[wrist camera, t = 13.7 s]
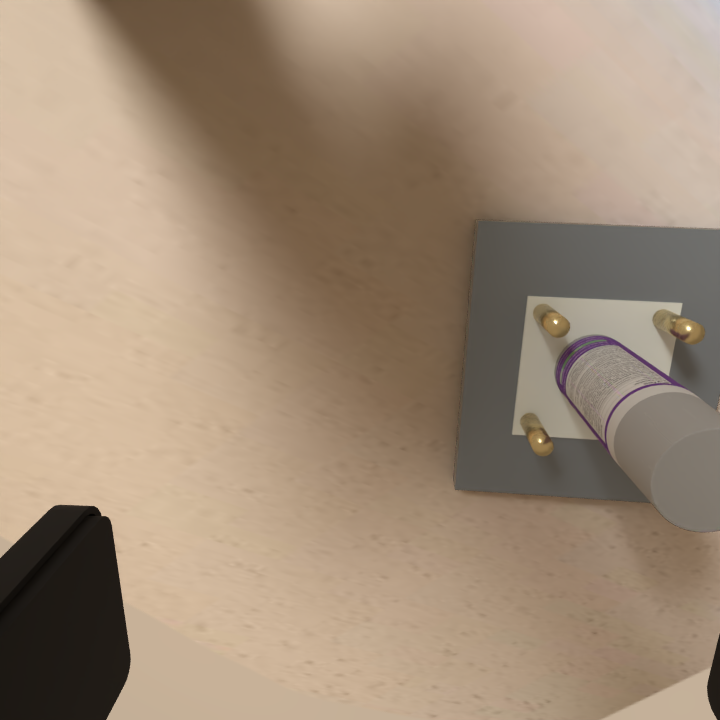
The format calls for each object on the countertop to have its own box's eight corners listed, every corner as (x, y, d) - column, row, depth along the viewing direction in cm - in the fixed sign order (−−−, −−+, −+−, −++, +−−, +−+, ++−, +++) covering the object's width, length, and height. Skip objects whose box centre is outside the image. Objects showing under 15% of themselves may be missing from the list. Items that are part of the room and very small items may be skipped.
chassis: (475, 219, 36) (478, 220, 35) (741, 229, 35) (757, 231, 34) (453, 479, 41) (455, 491, 40) (685, 494, 40) (697, 507, 39)
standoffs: (534, 303, 36) (549, 316, 32) (674, 309, 35) (707, 323, 31) (519, 429, 38) (531, 455, 34) (650, 437, 38) (678, 465, 34)
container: (640, 387, 37) (790, 510, 22) (569, 415, 38) (669, 551, 23) (615, 321, 36) (755, 406, 21) (542, 352, 37) (630, 453, 22)
